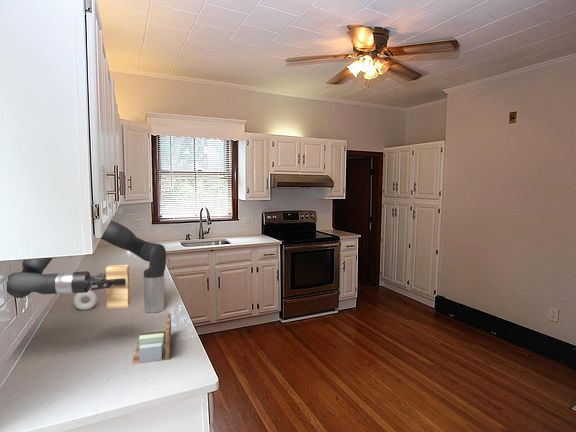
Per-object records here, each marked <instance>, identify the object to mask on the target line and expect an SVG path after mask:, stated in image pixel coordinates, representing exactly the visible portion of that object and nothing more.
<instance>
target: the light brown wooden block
mask: <svg viewBox="0 0 576 432" xmlns="http://www.w3.org/2000/svg"><path fill="white" fill-rule="evenodd" d="M105 274H106V278H107V279H123V278H125V279H126V283H125V285H114V286H111V287H110V288H105V290H106V309H107V310H108V309H109V310H111V309H123V308H129V306H130V303H131V302H130V298H131V297H130V296H131V295H130V292H131V291H130V264H116V265H114V264H113V265H112V264H111V265H107V266H106V268H105Z"/></svg>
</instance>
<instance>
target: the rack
mask: <svg viewBox="0 0 576 432" xmlns="http://www.w3.org/2000/svg"><path fill="white" fill-rule="evenodd" d="M158 333H164V355H163V356H162V360H156V361H148V362H140V358H139V340H138V342H137V345H136V348H135V352H134V354H133V358H132V361H131V365H137V364H144V363H145V364H146V363H151V362H152V363H153V362H154V363H155V362H161V361H169V360H170V356H171V355H170V354H171V342H172V341H171V340H172V312H171V311H168V312H167V314H166V323H165V330H161V331H150V332H141V333H140V335H149V334H158Z"/></svg>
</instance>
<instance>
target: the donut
mask: <svg viewBox="0 0 576 432" xmlns="http://www.w3.org/2000/svg"><path fill="white" fill-rule="evenodd" d="M83 298H88V300H89V301H88V302H83V300H82V299H83ZM97 302H98V295H96V293H95V292H94V290H91V289H89V291H88V292H87V293H75V296H74V297H73V306H75V308H76V309H78V310H81V311H87V310H91V309H92V308H93V307H94V306H96V305H97Z"/></svg>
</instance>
